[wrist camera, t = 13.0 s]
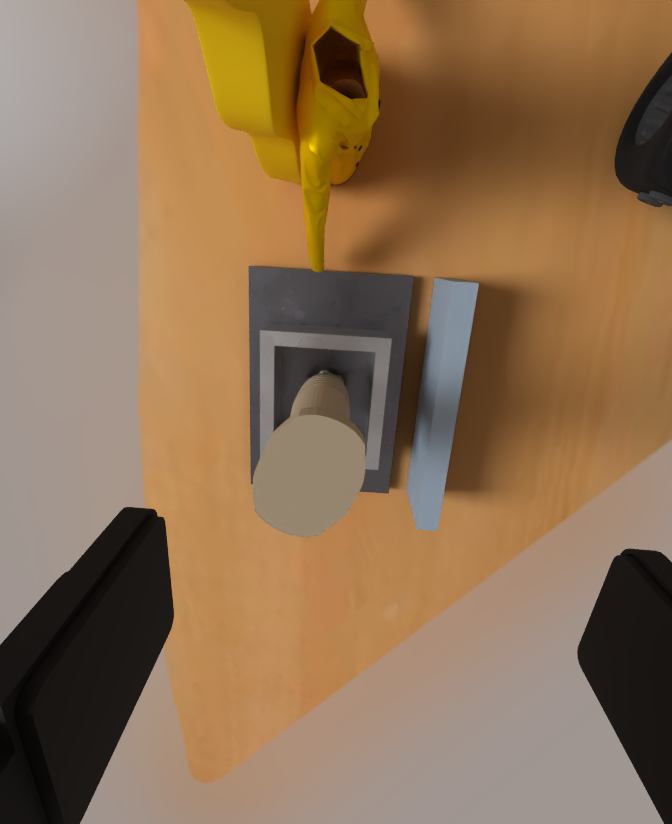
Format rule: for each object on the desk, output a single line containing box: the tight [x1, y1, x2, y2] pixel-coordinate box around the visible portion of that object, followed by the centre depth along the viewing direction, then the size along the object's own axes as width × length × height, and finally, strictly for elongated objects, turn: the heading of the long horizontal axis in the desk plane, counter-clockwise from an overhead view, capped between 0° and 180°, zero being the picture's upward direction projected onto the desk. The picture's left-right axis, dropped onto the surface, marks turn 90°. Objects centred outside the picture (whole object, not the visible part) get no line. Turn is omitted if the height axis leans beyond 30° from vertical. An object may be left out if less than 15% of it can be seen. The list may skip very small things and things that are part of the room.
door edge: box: [407, 278, 479, 531], centre depth 32 cm, size 18×2×6 cm, turn 176°
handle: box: [253, 370, 365, 537], centre depth 27 cm, size 5×6×15 cm
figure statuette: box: [184, 0, 380, 272], centre depth 18 cm, size 18×8×22 cm, turn 169°
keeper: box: [249, 266, 414, 493], centre depth 33 cm, size 18×12×4 cm, turn 176°
